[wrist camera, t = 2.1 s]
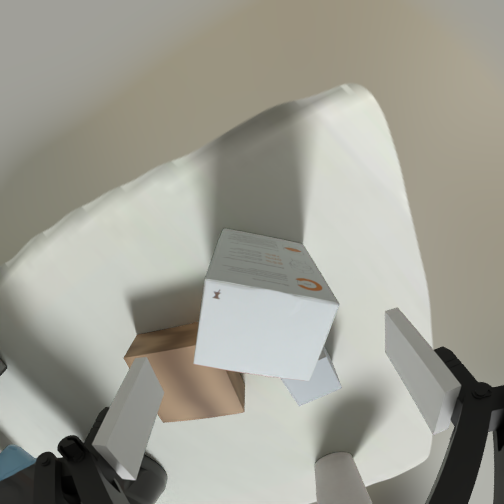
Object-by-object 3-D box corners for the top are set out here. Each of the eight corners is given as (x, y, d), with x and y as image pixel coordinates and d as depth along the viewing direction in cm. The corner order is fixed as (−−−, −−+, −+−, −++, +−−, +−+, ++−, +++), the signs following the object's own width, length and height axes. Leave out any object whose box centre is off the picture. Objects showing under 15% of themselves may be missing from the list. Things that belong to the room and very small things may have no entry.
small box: (211, 286, 31) (189, 365, 18) (222, 226, 29) (202, 275, 17) (289, 301, 31) (310, 383, 19) (305, 243, 30) (342, 301, 17)
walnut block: (171, 395, 36) (163, 422, 31) (137, 333, 33) (123, 357, 28) (244, 383, 35) (244, 412, 30) (218, 316, 32) (213, 341, 27)
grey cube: (293, 378, 35) (299, 406, 30) (276, 349, 33) (279, 377, 29) (331, 361, 34) (341, 387, 29) (316, 330, 33) (326, 356, 28)
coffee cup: (309, 480, 42) (319, 548, 28) (301, 455, 39) (313, 534, 25) (361, 467, 41) (380, 532, 27) (360, 440, 39) (385, 515, 24)
